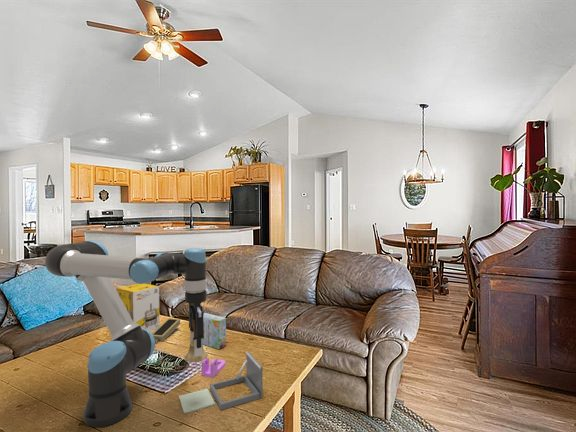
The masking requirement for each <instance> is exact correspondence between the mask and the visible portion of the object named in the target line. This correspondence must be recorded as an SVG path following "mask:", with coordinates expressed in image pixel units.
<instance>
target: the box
mask: <svg viewBox="0 0 576 432" xmlns="http://www.w3.org/2000/svg"><path fill="white" fill-rule="evenodd" d="M180 324H181V319H180V318H172V317H169V318H167V319H165V320H164V321H163V323H162V324H161V325H160V324H159V325H160V326H159V327H158V328H157V329H155V330H153V331H152V332H151V333H152V335H153V337H154V339H155V345H157V344H158V342H164V341H166V339H168V337H169V336H171V334H172V333H173V332H174V331H175V330H176V329H177V328H178V327H179V326H180Z"/></svg>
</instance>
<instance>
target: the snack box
mask: <svg viewBox="0 0 576 432" xmlns="http://www.w3.org/2000/svg"><path fill="white" fill-rule="evenodd" d="M203 323H204V338H203V339H202V344H203V346H207V347H210V348H213V349H216V350H219V351H220V350H222V349H223V348H225V347H227V346H226V345H227V318H226V317H223V316H219V315H216V314H211V313H208V312H204V315H203Z"/></svg>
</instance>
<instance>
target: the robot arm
mask: <svg viewBox="0 0 576 432" xmlns="http://www.w3.org/2000/svg"><path fill="white" fill-rule="evenodd" d="M44 260H45V261H44V264H45V268H46V270H47V271H48V272H49V273H51V274H52V275H53V276H54V275H55V276H57V277H66V278H72V277H75V278H76V280H77V281H80V282H83V284H84V285H85V287H86V289H87V291H88V293H89V295H90V297H91V299H92V301H93V302H94V303H93V304H95V306H96V308H97V310H98V312H99V314H100V316H101V317H102V320H103V321H104V324H105V325H106V328H107V329H108V331H109V333H110V336H111V338H110V340H109V341H107V342H106V343H102V344H100V345H97V346H96V347H95V348H94V349H92V350H91V351H90V352H89V355H88V358H87V359H88V361H87V376H88V378H87V381H88V396H87V400H86V403H85V407H84V410H83V414H82V416H83V417H82V421H83V423H84V424H85V425H86V426H88V427H92V428H101V427H106V426H110V425H111V426H112V425H113V424H115V423H118V422H120V421H122V420H123V419H124V418H126V417H128V415H129V414H130V413H131V411H132V410H133V400H132V397H131V394H130V392H129V390H128V388H127V375H128V374H129V373H130V372H131V371H134V369H136V368H138V367H139V366H140V365H142V364H143V363H145V362H146V361H148V359H149V358H150V357H152V355H153V354H154V351H155V348H156V344H155V343H156V342H155V339H154V337H153V335H152V333H153V332H152V331H147V330H145V329H142V328H141V326H140V325H139V324H135V323H134V322H133V320H132V319H131V317H130V315H129V313H128V311H127V309H126V307H125V305H124V304H123V302H122V300H121V298H120V296H119V294H118V292H117V288H116V286H115V285H114V283H113V282H112V279H121V280H122V279H123V280H131V281H133V282H134V283H135V284H144V283H146V284H150V283H152V282H154V281H157V280H159V279H161V278H164V277H166V276H169V275H175V274H177V275H184V290H185V292H184V293H185V294H184V302H186V303H187V304H188V328H189V331H190V332H189V338H190V342H189V344H190V343H191V342H192V341H194V356H195V357H197V356H202V339H203V338H204V323H203V315H204V313H205V311H203V306H202V303H203V302H205V301H206V300H207V290H206V288H207V283H208V280H207V276H206V273H207V256H206V250H205V249H203V248H200V247H195V248H194V247H192V248H190V247H189V248H186V249H185V250H184V253H174V252H173V253H172V252H171V253H170V252H159V253H157V254H156V255H155V256H154V257H150V258H145V257H132V256H119V255H109V251H108V249H107V248H106V246H105V245H104V244H102V243H101V242H99V241H96V240H84V241H80V242H73V243H67V244H60V245H57V246H55V247H53V248H52V249H51V250H49V251H48V252H47V254H46V257H45V259H44ZM192 319H193V320H194V330H195V338H194V331H193V328H192Z"/></svg>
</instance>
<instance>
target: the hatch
mask: <svg viewBox="0 0 576 432" xmlns="http://www.w3.org/2000/svg"><path fill="white" fill-rule="evenodd" d="M245 358H246V360H244V362H243V364H242V366H241V367H240V369H239V372H238V373H237V375H236V377H233V378H229V379H225V380H221V381H218V382H214V383H210V384H209V390H210V393H211V395H212V397H213V398H214V400H215V401H216V403H217V405H218V407H219V409H220V411H223V410H227V409H230V408H232V407H236V406H240V405H244V404H246V403H250V402H253V401H256V400H258V399H263V398H264V397H263V391H264V390H263V387H264V386H263V382H264V381H263V380H264V379H263V373H264V371H263V366H262V364H260V362H259V361H258V360H257V358H255V357H254V356H253V354H251V352H249V351H248V350H247V351H245ZM244 368H246V369H245V372H246V373H245V375H241V374H242V372H243V371H244ZM240 383H244V384H245V385H246V386H247V388H249V389H248V390H250V392H251V393H250V394H246V395H243V396H240V397H237V398H233V399H230V400H227V401H223V400H222V399H221V397H220V395H219V393H218V391H217V389H221V388H226V387H229V386H232V385H233V386H234V385H236V384H240Z"/></svg>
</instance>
